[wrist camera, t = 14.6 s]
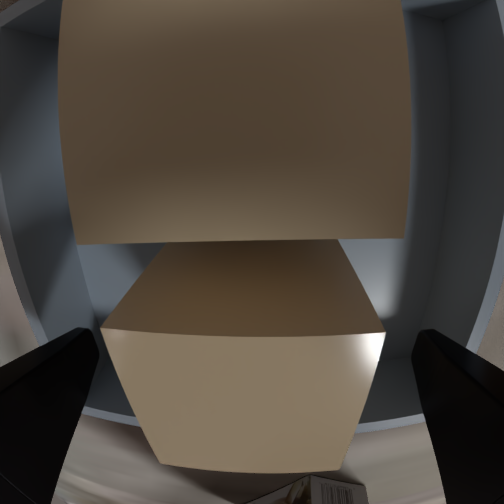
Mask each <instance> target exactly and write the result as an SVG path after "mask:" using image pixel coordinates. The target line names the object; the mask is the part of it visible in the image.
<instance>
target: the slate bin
mask: <svg viewBox="0 0 504 504" xmlns="http://www.w3.org/2000/svg"><path fill="white" fill-rule="evenodd" d="M62 3H63V0H19V1H17V2H16V3H14V4H13V5H11V6H9V7H8V8H6V9H5V10H3V11H2V12H0V235H1V239H2V242H3V246H4V250H5V254H6V257H7V261H8V264H9V267H10V270H11V274H12V277H13V280H14V283H15V286H16V289H17V292H18V294H19V297H20V300H21V303H22V305H23V308H24V310H25V313H26V316H27V318H28V320H29V323H30V325H31V328H32V330H33V332H34V335H35V337H36V339H37V341H38V343H39V346H42V345H44V344H46V343H47V342H49V341H51V340H53V339H55V338H57V337H59V336H61V335H63V334H65V333H67V332H69V331H71V330H73V329H74V328H77V327H84V328H89V329H90V330H91V331H92V333H93V335H94V338H95V341H96V343H97V346H98V349H99V353H100V356H99V361H98V364H97V367H96V370H95V374H94V377H93V380H92V384H91V387H90V390H89V394H88V397H87V400H86V403H85V406H84V408H83V411H82V414H85V415H89V416H93V417H97V418H101V419H105V420H110V421H114V422H119V423H124V424H129V425H134V426H139V427H141V426H140V424H139V422H138V420H137V418H136V416H135V414H134V412H133V409H132V407H131V405H130V403H129V401H128V398H127V396H126V394H125V392H124V389H123V387H122V385H121V382H120V380H119V377H118V375H117V372H116V370H115V367H114V365H113V362H112V360H111V357H110V354H109V352H108V349H107V346H106V343H105V341H104V338H103V335H102V332H101V329H100V327H101V326H102V324H103V323H104V322H105V320H106V319H107V318H108V316H109V315H110V314H111V312H112V311H113V310H114V308H115V307H116V306H117V304H118V303H119V302H120V301H121V299H122V298H123V297H124V295H125V294H126V293H127V291H128V290H129V289H130V288H131V286H132V285H133V284H134V283H135V281H136V280H137V279H138V277H139V276H140V275H141V274H142V272H143V271H144V270H145V269H146V267H147V266H148V265H149V264H150V263H151V261H152V260H153V259H154V258H155V256H156V255H157V254H158V253H159V252H160V250H161V249H162V248H163V247H164V245H165V244H166V243H167V242H159V243H125V244H94V245H77V243H76V238H75V234H74V229H73V224H72V219H71V214H70V208H69V203H68V197H67V191H66V184H65V177H64V169H63V161H62V152H61V142H60V130H59V113H58V47H59V32H60V20H61V11H62ZM401 5H402V11H403V17H404V24H405V32H406V40H407V49H408V60H409V73H410V90H411V164H410V182H409V195H408V207H407V217H406V226H405V234H404V239H338V241H339V243H340V244H341V246H342V248H343V250H344V252H345V254H346V255H347V257H348V259H349V261H350V263H351V265H352V266H353V268H354V270H355V272H356V274H357V276H358V278H359V280H360V281H361V283H362V285H363V287H364V289H365V291H366V293H367V295H368V297H369V299H370V301H371V303H372V305H373V307H374V309H375V311H376V313H377V315H378V317H379V319H380V321H381V323H382V325H383V327H384V329H385V331H386V334H385V338H384V342H383V346H382V350H381V353H380V357H379V361H378V364H377V368H376V371H375V374H374V378H373V381H372V384H371V387H370V390H369V393H368V396H367V399H366V402H365V405H364V408H363V411H362V414H361V417H360V420H359V422H358V425H357V428H356V430H355V433H362V432H370V431H377V430H383V429H390V428H395V427H401V426H406V425H411V424H416V423H421V422H425V418H424V414H423V411H422V407H421V403H420V399H419V394H418V389H417V384H416V380H415V375H414V371H413V367H412V362H411V354H412V350H413V347H414V344H415V341H416V338H417V335H418V332H419V331H420V330H423V329H435V330H437V331H438V332H440V333H442V334H443V335H445V336H447V337H449V338H450V339H452V340H454V341H455V342H457V343H459V344H460V345H462V346H464V347H465V348H467V349H468V350H470V351H472V352H473V353H475V354H476V352H477V350H478V348H479V345H480V343H481V340H482V338H483V336H484V333H485V331H486V328H487V325H488V323H489V320H490V317H491V315H492V312H493V309H494V306H495V303H496V300H497V297H498V294H499V291H500V288H501V284H502V281H503V277H504V0H401Z"/></svg>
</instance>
